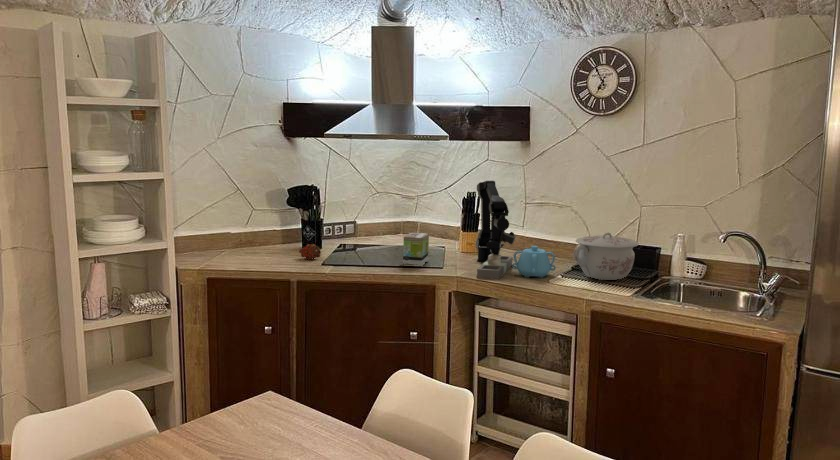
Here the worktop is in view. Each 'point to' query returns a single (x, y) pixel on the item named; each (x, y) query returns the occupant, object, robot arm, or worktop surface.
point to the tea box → (415, 248)
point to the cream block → (494, 259)
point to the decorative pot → (534, 262)
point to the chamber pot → (605, 256)
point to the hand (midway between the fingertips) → (496, 259)
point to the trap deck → (494, 269)
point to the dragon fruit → (310, 251)
